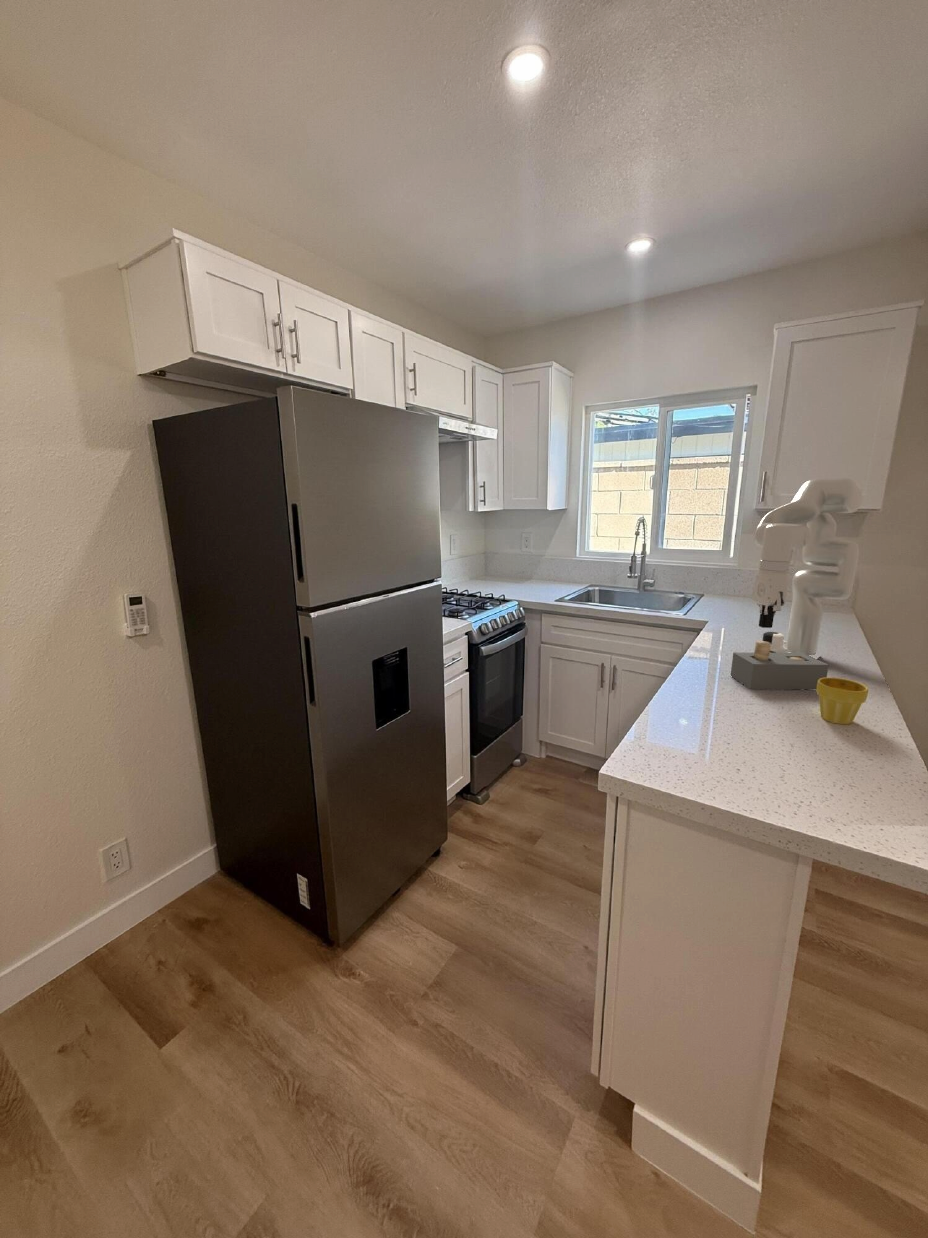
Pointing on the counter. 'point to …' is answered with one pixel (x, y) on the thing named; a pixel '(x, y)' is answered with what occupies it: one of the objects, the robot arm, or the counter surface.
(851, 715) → the plant pot
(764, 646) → the peg
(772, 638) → the medicine bottle
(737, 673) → the collar block
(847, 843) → the counter surface
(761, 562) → the robot arm
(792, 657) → the peg
